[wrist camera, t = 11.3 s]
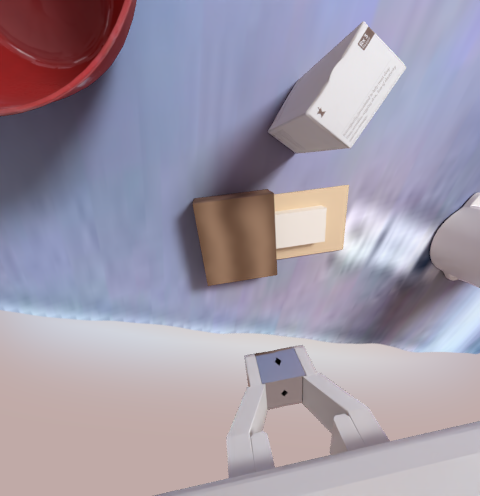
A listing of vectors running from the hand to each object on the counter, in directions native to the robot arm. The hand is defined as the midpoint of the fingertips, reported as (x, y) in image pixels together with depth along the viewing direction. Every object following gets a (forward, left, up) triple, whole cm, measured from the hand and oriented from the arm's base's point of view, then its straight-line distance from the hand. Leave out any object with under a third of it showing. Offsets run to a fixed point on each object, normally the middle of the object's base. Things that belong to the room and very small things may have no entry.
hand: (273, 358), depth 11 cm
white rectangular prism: (-12, +4, -29) cm, 31 cm away
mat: (-14, +4, -29) cm, 32 cm away
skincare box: (-12, -13, -29) cm, 34 cm away
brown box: (-1, +4, -29) cm, 29 cm away
